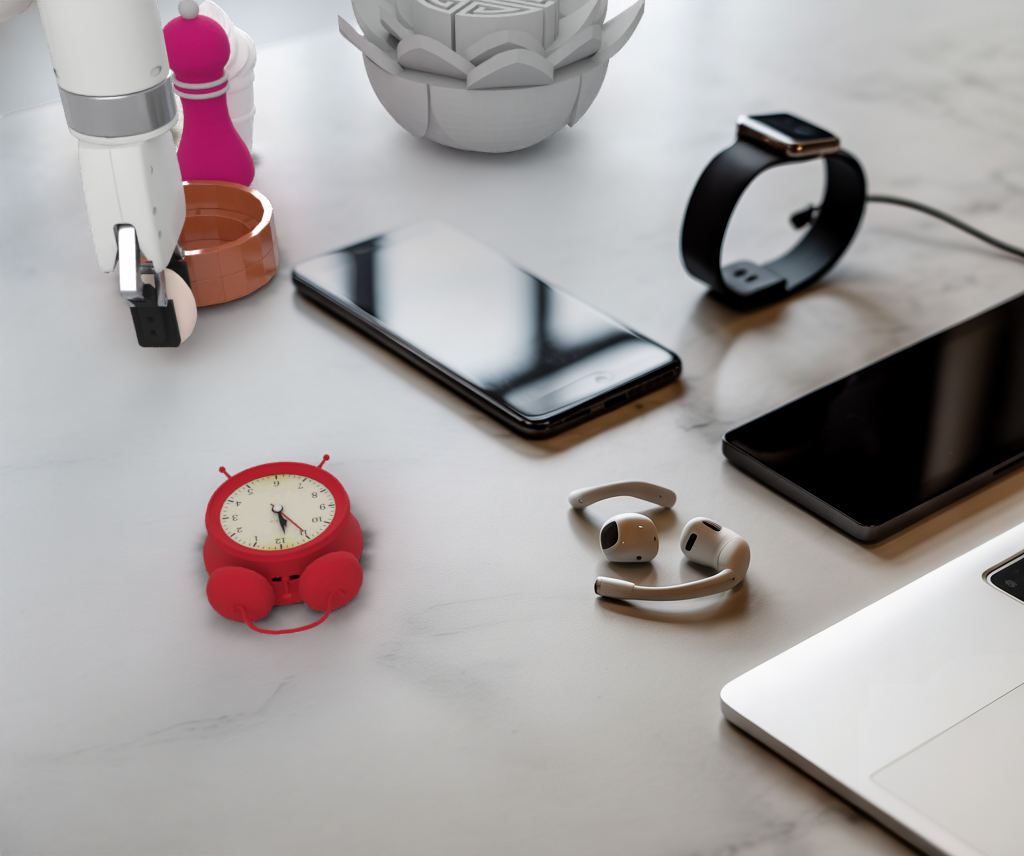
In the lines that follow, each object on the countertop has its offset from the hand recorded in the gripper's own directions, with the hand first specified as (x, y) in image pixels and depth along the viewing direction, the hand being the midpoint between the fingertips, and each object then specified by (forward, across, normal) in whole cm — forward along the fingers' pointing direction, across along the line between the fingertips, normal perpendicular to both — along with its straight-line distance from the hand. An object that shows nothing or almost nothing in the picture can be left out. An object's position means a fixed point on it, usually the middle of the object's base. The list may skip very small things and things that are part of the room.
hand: (167, 323), depth 93 cm
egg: (+2, 0, 0) cm, 2 cm away
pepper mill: (+3, -24, 0) cm, 24 cm away
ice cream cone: (+3, -35, -1) cm, 35 cm away
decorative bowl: (+3, -43, +26) cm, 50 cm away
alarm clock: (+3, +25, +12) cm, 28 cm away
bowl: (+3, -13, 0) cm, 13 cm away
